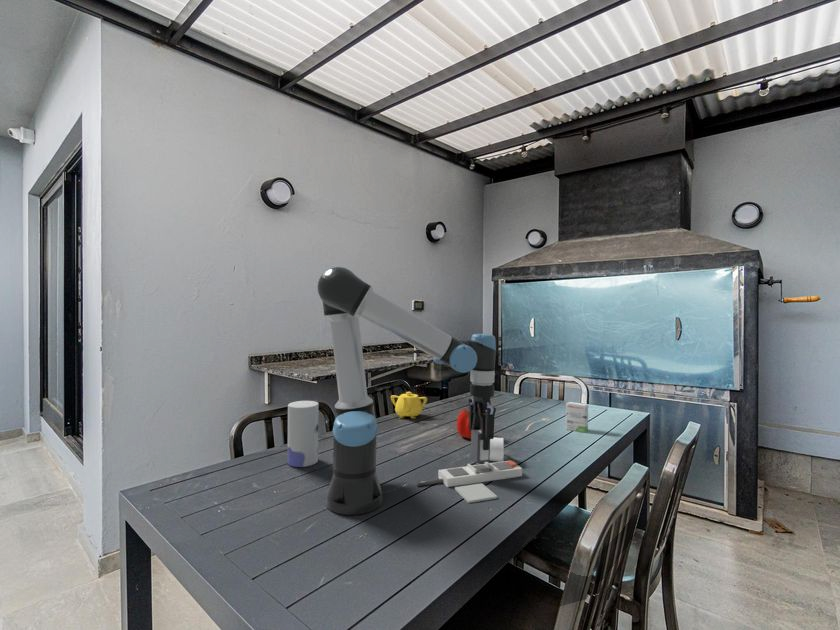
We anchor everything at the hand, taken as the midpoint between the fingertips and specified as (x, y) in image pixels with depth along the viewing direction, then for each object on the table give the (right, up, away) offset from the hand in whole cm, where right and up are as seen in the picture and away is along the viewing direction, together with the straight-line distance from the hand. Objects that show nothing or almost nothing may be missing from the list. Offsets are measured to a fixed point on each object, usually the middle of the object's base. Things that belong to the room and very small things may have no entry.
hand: (480, 456), depth 132 cm
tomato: (+3, -6, +40) cm, 41 cm away
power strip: (-4, -6, -1) cm, 8 cm away
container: (-59, -6, +10) cm, 60 cm away
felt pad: (-3, -7, -12) cm, 14 cm away
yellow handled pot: (-25, -5, +69) cm, 73 cm away
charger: (0, -1, 0) cm, 1 cm away
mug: (+6, -6, +17) cm, 19 cm away
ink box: (+50, -6, +53) cm, 73 cm away
